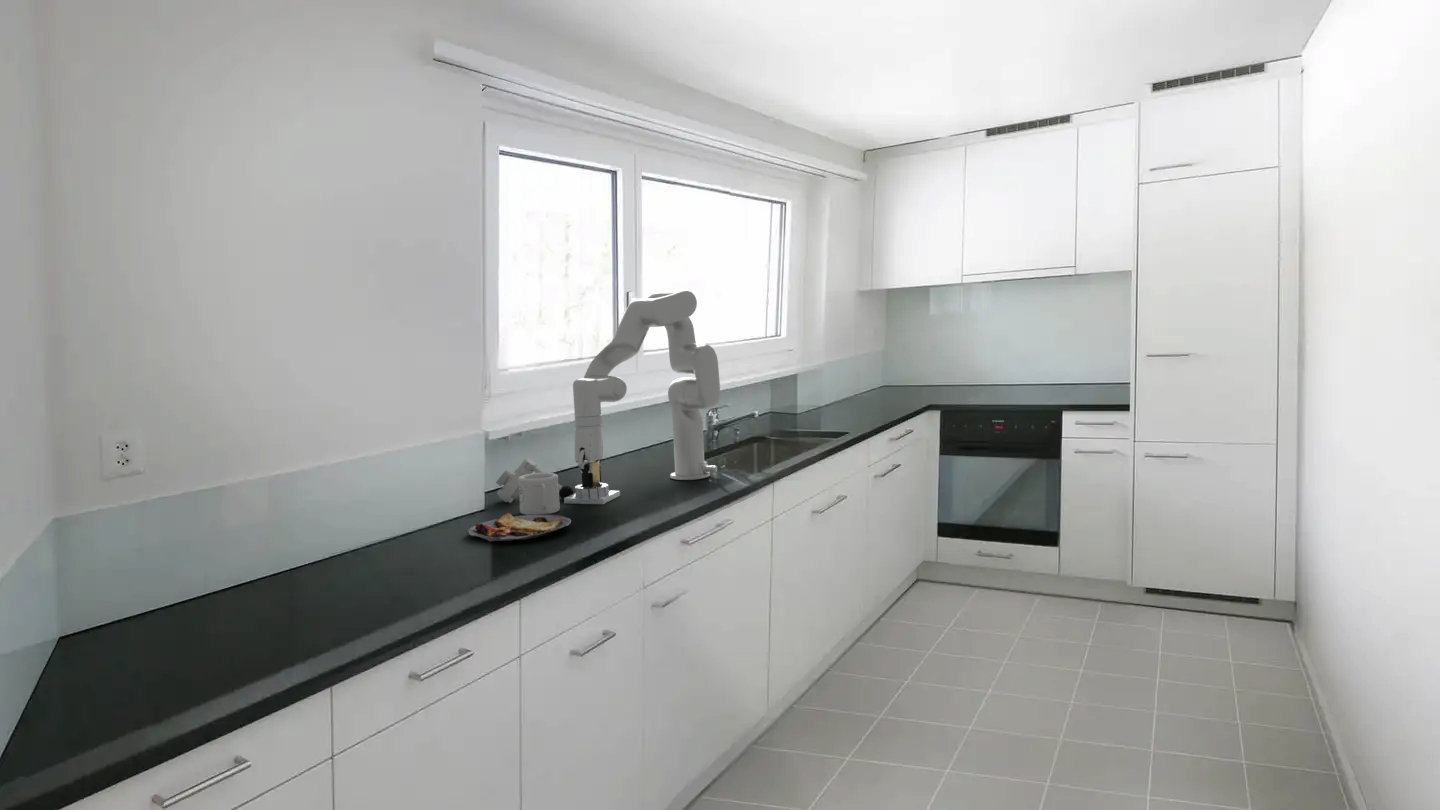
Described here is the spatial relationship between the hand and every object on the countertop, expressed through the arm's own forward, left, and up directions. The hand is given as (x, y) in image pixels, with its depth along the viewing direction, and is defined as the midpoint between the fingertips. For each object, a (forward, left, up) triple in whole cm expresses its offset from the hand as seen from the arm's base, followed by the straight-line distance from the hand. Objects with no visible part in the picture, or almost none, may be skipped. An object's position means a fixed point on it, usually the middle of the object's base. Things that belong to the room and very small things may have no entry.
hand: (591, 484), depth 278 cm
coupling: (0, 0, -1) cm, 1 cm away
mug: (+7, +18, -5) cm, 20 cm away
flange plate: (0, 0, -4) cm, 4 cm away
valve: (+17, +3, -5) cm, 18 cm away
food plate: (+1, +41, -5) cm, 41 cm away
